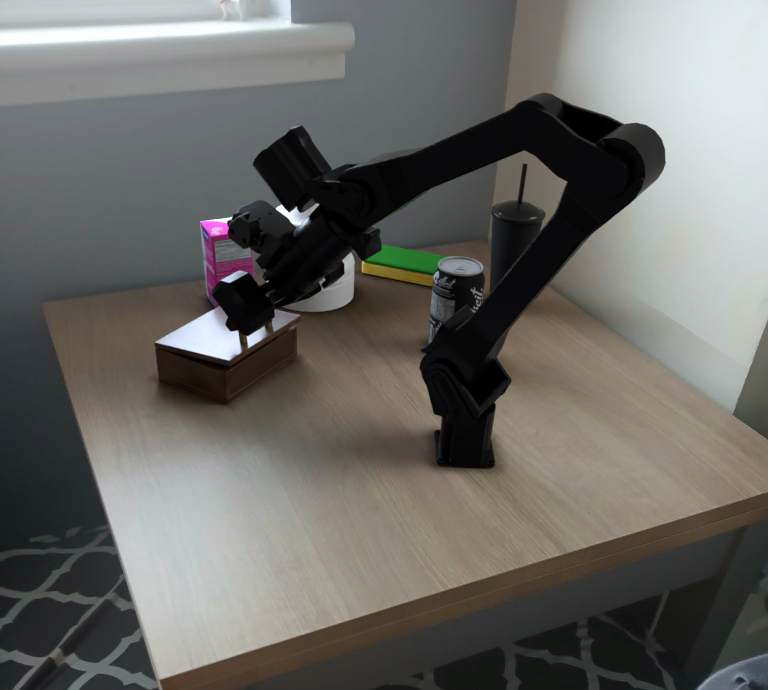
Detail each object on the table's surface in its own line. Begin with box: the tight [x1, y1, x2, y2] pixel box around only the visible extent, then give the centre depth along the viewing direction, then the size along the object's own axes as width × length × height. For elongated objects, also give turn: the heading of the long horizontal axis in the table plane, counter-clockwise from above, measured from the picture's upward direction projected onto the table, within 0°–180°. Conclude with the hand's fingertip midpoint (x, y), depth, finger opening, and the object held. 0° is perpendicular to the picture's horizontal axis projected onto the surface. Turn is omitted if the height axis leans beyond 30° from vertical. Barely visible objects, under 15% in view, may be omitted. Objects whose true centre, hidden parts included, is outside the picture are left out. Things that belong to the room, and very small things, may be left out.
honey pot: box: [267, 203, 356, 313], centre depth 125 cm, size 13×13×18 cm
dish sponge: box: [361, 243, 447, 288], centre depth 137 cm, size 7×14×2 cm, turn 70°
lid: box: [153, 295, 303, 366], centre depth 107 cm, size 11×15×5 cm
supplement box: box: [199, 216, 255, 309], centre depth 122 cm, size 6×6×12 cm
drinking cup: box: [488, 163, 547, 295], centre depth 125 cm, size 8×8×20 cm
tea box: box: [154, 325, 298, 405], centre depth 110 cm, size 11×15×4 cm
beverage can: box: [426, 255, 486, 345], centre depth 115 cm, size 7×7×12 cm
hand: (245, 317), depth 106 cm, fingers closed on lid, 6 cm apart
